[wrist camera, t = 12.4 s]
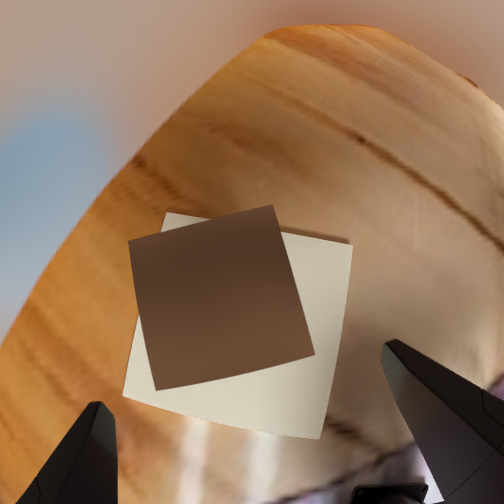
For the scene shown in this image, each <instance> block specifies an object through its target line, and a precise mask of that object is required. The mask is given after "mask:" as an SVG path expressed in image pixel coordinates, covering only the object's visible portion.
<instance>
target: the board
mask: <svg viewBox="0 0 504 504" xmlns="http://www.w3.org/2000/svg"><path fill="white" fill-rule="evenodd" d="M206 220H210V219H205V218H199V217H193V216H187V215H181V214H175V213H169V212H167V213H166V216H165V219H164V222H163V226H162V229H161V232H164V231H168V230H171V229H175V228H179V227H183V226H187V225H191V224H195V223H199V222H203V221H206ZM281 234H282V238H283V241H284V244H285V248H286V251H287V255H288V258H289V261H290V265H291V268H292V272H293V275H294V279H295V282H296V286H297V289H298V293H299V296H300V300H301V304H302V307H303V311H304V314H305V318H306V322H307V325H308V329H309V333H310V336H311V340H312V344H313V347H314V351H315V355H314V356H311V357H307V358H304V359H300V360H297V361H293V362H289V363H286V364H282V365H278V366H274V367H271V368H267V369H263V370H259V371H255V372H250V373H246V374H242V375H238V376H233V377H229V378H224V379H219V380H215V381H210V382H205V383H200V384H194V385H189V386H184V387H178V388H172V389H166V390H160V391H156V390H155V386H154V382H153V378H152V373H151V369H150V365H149V360H148V356H147V351H146V347H145V342H144V337H143V332H142V327H141V321H140V316H139V317H138V321H137V325H136V330H135V334H134V339H133V344H132V349H131V353H130V358H129V363H128V369H127V374H126V379H125V385H124V390H123V396H125V397H127V398H130V399H133V400H136V401H139V402H142V403H145V404H149V405H152V406H155V407H158V408H162V409H165V410H168V411H172V412H175V413H179V414H183V415H187V416H190V417H194V418H198V419H202V420H206V421H211V422H215V423H219V424H224V425H229V426H233V427H238V428H243V429H249V430H254V431H260V432H266V433H272V434H278V435H285V436H293V437H301V438H309V439H319V440H320V436H321V432H322V428H323V424H324V419H325V415H326V411H327V406H328V402H329V397H330V392H331V387H332V382H333V377H334V372H335V367H336V362H337V356H338V350H339V345H340V339H341V333H342V326H343V320H344V313H345V306H346V299H347V292H348V284H349V276H350V268H351V259H352V249H353V245H348V244H343V243H338V242H333V241H327V240H322V239H317V238H312V237H306V236H301V235H296V234H290V233H285V232H281Z"/></svg>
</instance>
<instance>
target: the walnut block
mask: <svg viewBox="0 0 504 504" xmlns="http://www.w3.org/2000/svg"><path fill="white" fill-rule="evenodd" d="M128 243H129V251H130V259H131V266H132V273H133V280H134V286H135V293H136V299H137V305H138V310H139V316H140V321H141V327H142V332H143V337H144V342H145V347H146V351H147V356H148V360H149V365H150V369H151V373H152V378H153V382H154V386H155V390H156V391H160V390H166V389H172V388H178V387H184V386H189V385H194V384H200V383H205V382H210V381H215V380H219V379H224V378H229V377H233V376H238V375H242V374H246V373H250V372H255V371H259V370H263V369H267V368H271V367H274V366H278V365H282V364H286V363H289V362H293V361H297V360H300V359H304V358H307V357H311V356H314V355H315V351H314V347H313V344H312V340H311V336H310V333H309V329H308V325H307V322H306V318H305V314H304V311H303V307H302V304H301V300H300V296H299V293H298V289H297V286H296V282H295V279H294V275H293V272H292V268H291V265H290V261H289V258H288V255H287V251H286V248H285V244H284V241H283V238H282V234H281V231H280V228H279V224H278V221H277V218H276V214H275V211H274V208H273V205H269V206H264V207H260V208H256V209H252V210H247V211H243V212H239V213H235V214H231V215H227V216H223V217H219V218H214V219H210V220H206V221H203V222H199V223H195V224H191V225H187V226H183V227H179V228H175V229H171V230H168V231H164V232H160V233H156V234H153V235H149V236H145V237H142V238H138V239H134V240H131V241H128Z"/></svg>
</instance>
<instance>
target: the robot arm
mask: <svg viewBox="0 0 504 504" xmlns="http://www.w3.org/2000/svg"><path fill="white" fill-rule="evenodd" d="M381 363H382V367H383V369H384V372H385V374H386V377H387V380H388V382H389V385H390V387H391V390H392V393H393V395H394V398H395V400H396V403H397V405H398V407H399V409H400V411H401V413H402V415H403V417H404V419H405V421H406V423H407V425H408V427H409V429H410V431H411V433H412V435H413V437H414V439H415V441H416V443H417V445H418V447H419V449H420V451H421V453H422V455H423V457H424V459H425V461H426V463H427V465H428V467H429V469H430V471H431V473H432V475H433V478H434V480H435V482H436V484H437V486H438V488H439V490H440V493H441V495H442V497H443V499H444V501H443V502H438V503H434V504H504V400H502V399H500V398H498V397H496V396H494V395H493V394H491V393H489V392H487V391H486V390H484V389H481V388H480V387H479V386H477V385H475V384H473V383H472V382H470V381H468V380H467V379H465V378H463V377H461V376H460V375H458V374H456V373H455V372H453V371H451V370H449V369H448V368H446V367H444V366H443V365H441V364H439V363H437V362H436V361H434V360H432V359H431V358H429V357H427V356H425V355H424V354H422V353H420V352H419V351H417V350H415V349H414V348H412V347H410V346H408V345H407V344H405V343H403V342H402V341H400V340H398V339H392V340H389V341H387V342H385V343H384V345H383V351H382V357H381ZM422 487H424V488H423V489H422V490H421V488H422ZM360 490H363V492H362V493H360V494H358V492H359V491H360ZM427 491H428V485H427V484H426V483H412V484H397V485H361V486H358V487H356V488H355V489H354V491H353V494H352V497H351V500H350V503H349V504H425V503H424V499H425V496H426V494H427ZM15 504H118V456H117V443H116V428H115V418H114V416H113V414H112V413H111V412H110V410H109V409H108V408H107V407H106V405H105V404H104V403H103V402H102V401H92V402H90V403H89V404H88V405H87V406H86V408H85V409H84V411H83V412H82V413H81V415H80V416H79V417H78V419H77V420H76V421H75V423H74V424H73V425H72V427H71V428H70V429H69V431H68V432H67V434H66V435H65V436H64V438H63V439H62V440H61V442H60V443H59V445H58V446H57V447H56V449H55V450H54V452H53V453H52V454H51V456H50V457H49V459H48V460H47V461H46V463H45V464H44V466H43V467H42V468H41V470H40V471H39V473H38V474H37V477H35V478H34V480H33V481H32V483H31V484H30V485H29V487H28V488H27V490H26V491H25V492H24V494H23V495H22V496H21V497H20V499H19V500H18V501H17V502H16V503H15Z"/></svg>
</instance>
